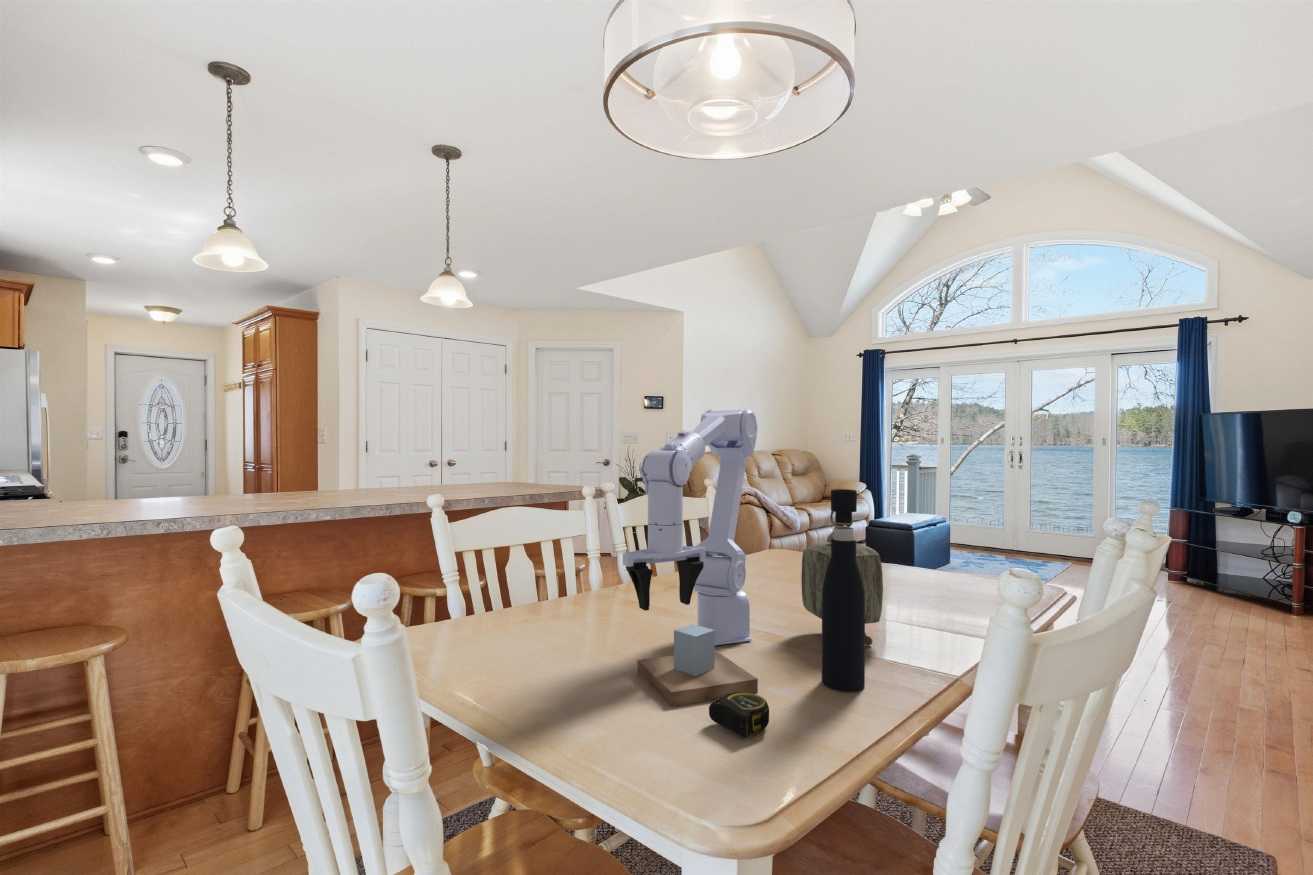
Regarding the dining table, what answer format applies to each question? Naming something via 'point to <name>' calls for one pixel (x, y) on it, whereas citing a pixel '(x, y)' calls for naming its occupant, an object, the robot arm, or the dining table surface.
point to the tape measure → (741, 713)
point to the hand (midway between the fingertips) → (664, 606)
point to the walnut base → (695, 680)
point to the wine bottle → (843, 603)
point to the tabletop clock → (815, 570)
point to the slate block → (694, 649)
